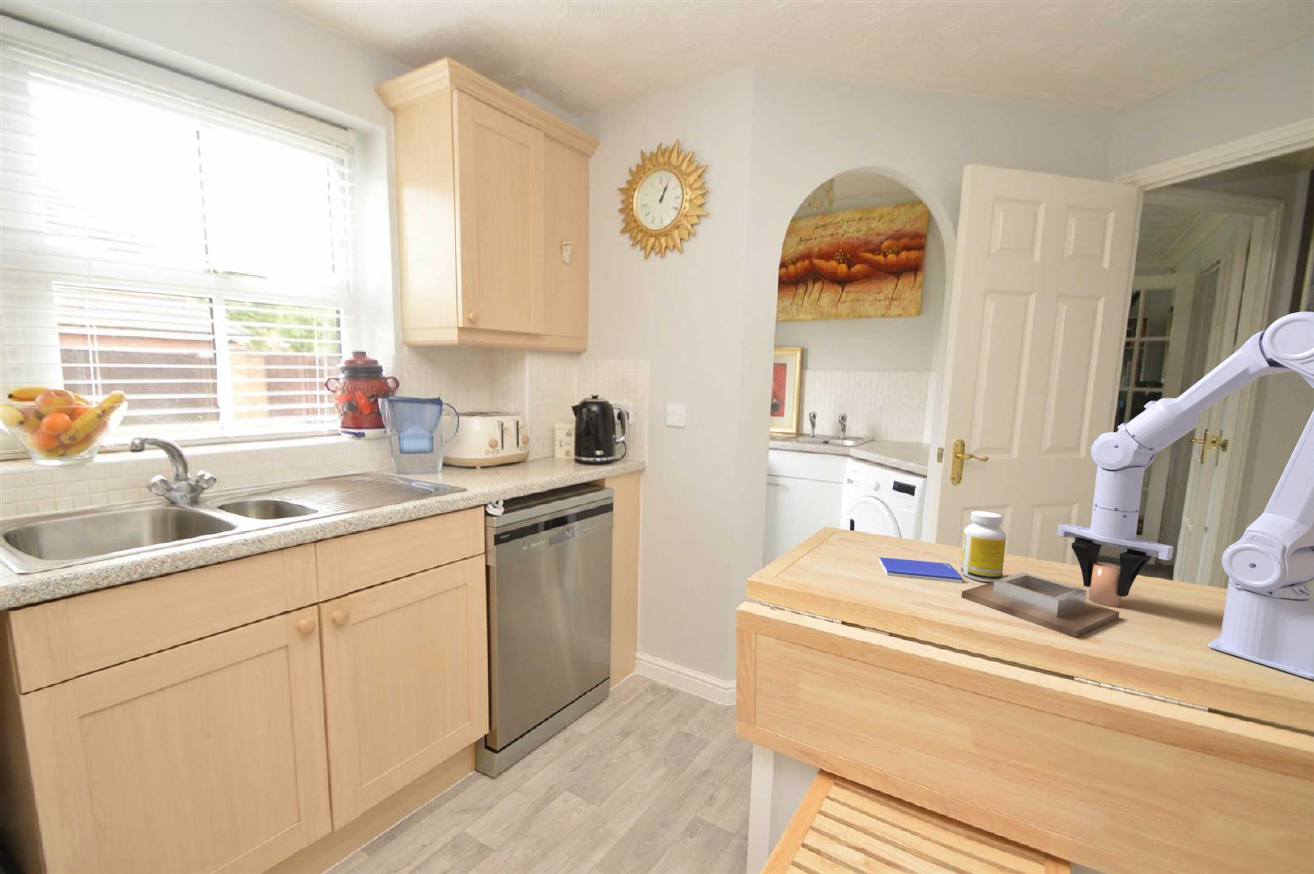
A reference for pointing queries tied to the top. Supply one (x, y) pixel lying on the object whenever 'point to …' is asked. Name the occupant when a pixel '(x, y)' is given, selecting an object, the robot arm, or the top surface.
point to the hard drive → (920, 569)
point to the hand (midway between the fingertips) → (1105, 590)
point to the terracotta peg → (1105, 584)
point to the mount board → (1067, 624)
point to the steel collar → (1040, 594)
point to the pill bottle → (983, 547)
